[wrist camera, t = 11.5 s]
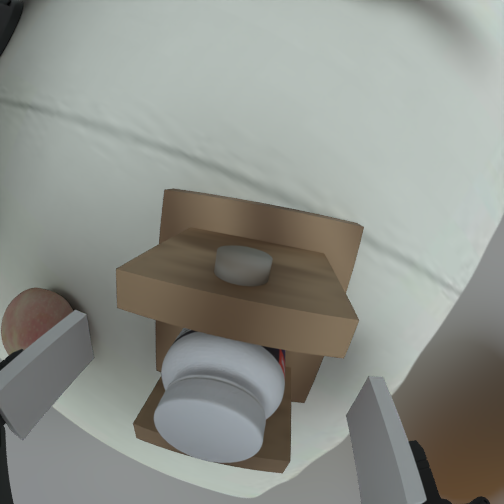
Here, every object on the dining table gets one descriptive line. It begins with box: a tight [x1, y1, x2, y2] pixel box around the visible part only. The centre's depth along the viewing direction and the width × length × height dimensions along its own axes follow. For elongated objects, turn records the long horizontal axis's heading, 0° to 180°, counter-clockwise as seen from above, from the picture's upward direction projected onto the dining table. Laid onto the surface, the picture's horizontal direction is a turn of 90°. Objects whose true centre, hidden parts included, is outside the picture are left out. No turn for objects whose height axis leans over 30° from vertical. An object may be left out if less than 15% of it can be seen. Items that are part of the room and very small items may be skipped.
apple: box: [1, 288, 73, 355], centre depth 17 cm, size 8×8×8 cm
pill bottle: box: [154, 328, 285, 463], centre depth 12 cm, size 5×5×10 cm
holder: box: [116, 189, 364, 473], centre depth 14 cm, size 12×14×10 cm
